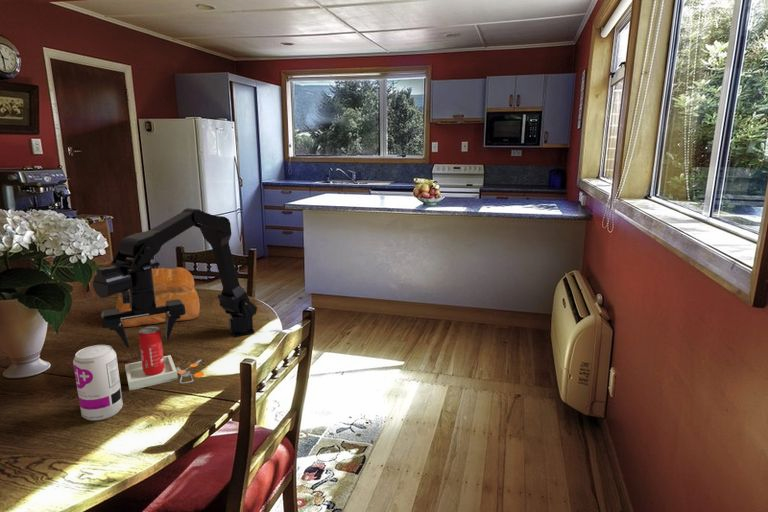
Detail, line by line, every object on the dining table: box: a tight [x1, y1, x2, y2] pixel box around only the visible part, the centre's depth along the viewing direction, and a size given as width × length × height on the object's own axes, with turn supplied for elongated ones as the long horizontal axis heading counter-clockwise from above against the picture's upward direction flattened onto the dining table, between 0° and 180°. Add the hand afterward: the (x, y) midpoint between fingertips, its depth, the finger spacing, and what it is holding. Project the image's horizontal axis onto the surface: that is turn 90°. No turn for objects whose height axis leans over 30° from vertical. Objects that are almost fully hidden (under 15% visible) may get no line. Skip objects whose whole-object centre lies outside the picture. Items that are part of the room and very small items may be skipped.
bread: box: [115, 266, 201, 328], centre depth 163 cm, size 16×26×17 cm, turn 112°
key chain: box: [175, 359, 205, 385], centre depth 127 cm, size 13×7×1 cm, turn 24°
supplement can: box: [72, 344, 124, 422], centre depth 106 cm, size 8×8×15 cm
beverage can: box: [138, 325, 164, 376], centre depth 124 cm, size 5×5×12 cm
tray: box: [124, 354, 179, 391], centre depth 125 cm, size 11×11×2 cm
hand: (147, 343), depth 123 cm, fingers open, 9 cm apart
